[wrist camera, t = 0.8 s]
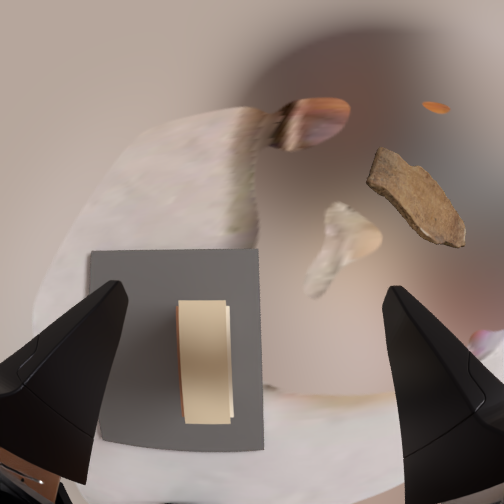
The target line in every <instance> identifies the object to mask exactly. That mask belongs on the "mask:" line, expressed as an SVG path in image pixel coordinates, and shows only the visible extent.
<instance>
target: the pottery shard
mask: <svg viewBox="0 0 504 504" xmlns="http://www.w3.org/2000/svg"><path fill="white" fill-rule="evenodd" d="M366 184H367V185H368V186H369V187H370V188H371V189H373V190H374V191H375V192H377V193H378V194H379V195H381V196H385V198H386V199H387V200H389V202H390V203H391V204H392V205H393V206H394V207H395V208H396V209H397V211H399V213H400V214H401V215H402V217H404V218H405V219H406V221H407V222H408V224H409V225H410V226H411V227H412V229H414V230H415V231H416V232H417V234H419V236H420V237H422V238H423V239H425V240H428V241H429V242H432V243H435V244H444V245H447V246H450V247H454V248H460V247H464V246H465V234H466V230H465V226H464V222H463V221H462V219H461V218H460V217H459V215H458V213H457V211H455V209H454V208H453V206H452V204H451V202H450V200H449V199H447V197H446V195H445V193H444V191H443V190H442V189H441V187H440V186H439V185H438V184H437V182H436V181H435V180H433V179H432V177H431V176H430V174H429V173H428V172H426V171H425V170H424V169H423V168H422V167H420V166H414V167H413V166H409V165H408V164H407V163H406V162H405V161H404V160H403V159H402V158H401V157H400V156H399V154H396V153H394V152H392V151H390V150H388V149H386V148H382V147H379V148H378V150H377V152H376V154H375V158H374V161H373V163H372V166H371V170H370V174H369V176H368V178H367V181H366Z"/></svg>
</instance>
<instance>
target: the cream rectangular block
mask: <svg viewBox="0 0 504 504" xmlns="http://www.w3.org/2000/svg"><path fill="white" fill-rule="evenodd" d="M178 303H179V306H176V333H177V357H178V374H179V388H180V400H181V411H182V417H185V424H231V421H230V417H234V410H233V389H232V366H231V338H230V306H226V300H178Z"/></svg>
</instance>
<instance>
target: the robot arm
mask: <svg viewBox="0 0 504 504" xmlns="http://www.w3.org/2000/svg"><path fill="white" fill-rule="evenodd" d="M128 303H129V299H128V295H127V293H126V291H125V288H124V286H123V284H122V282H121V281H120V280H109V281H108V282H106V283H105V284H103V285H102V286H101V287H99V288H98V289H97V290H95V291H94V292H93V293H91V294H90V295H88V296H87V297H86V298H84V299H83V300H82V301H80V302H79V303H78V304H76V305H75V306H74V307H72V308H71V309H70V310H69V311H67V312H66V313H65V314H63V315H62V316H61V317H60V318H58V319H57V320H56V321H54V322H53V323H52V324H51V325H49V326H48V327H47V328H46V329H44V330H43V331H42V332H41V333H40V334H38V335H37V336H36V337H34V338H33V339H32V340H31V341H30V342H28V343H27V344H26V345H25V346H24V347H22V348H21V349H19V350H18V351H17V352H15V353H14V354H13V355H11V356H10V357H8V358H7V359H6V360H4V361H3V362H2V363H0V504H72V502H71V500H70V498H69V496H68V494H67V492H66V490H65V488H64V486H63V484H62V483H61V482H60V479H61V477H63V478H66V479H69V480H71V481H74V482H77V483H80V484H83V485H86V481H87V474H88V468H89V462H90V456H91V451H92V446H93V441H94V439H93V438H94V435H95V430H96V426H97V421H98V417H99V413H100V409H101V405H102V401H103V397H104V393H105V389H106V386H107V382H108V378H109V375H110V371H111V368H112V365H113V361H114V358H115V355H116V351H117V348H118V345H119V342H120V338H121V334H122V329H123V325H124V320H125V316H126V312H127V308H128ZM382 312H383V318H384V326H385V334H386V344H387V351H388V356H389V361H390V366H391V371H392V377H393V382H394V387H395V394H396V400H397V407H398V414H399V421H400V429H401V438H402V448H403V458H404V459H403V462H404V480H405V504H438V503H441V504H504V384H503V383H502V382H501V381H500V380H499V379H497V378H496V377H495V376H494V375H493V374H492V373H491V372H490V371H489V370H488V369H487V368H486V367H485V366H484V365H483V364H482V363H481V362H480V361H479V360H478V359H477V358H476V357H475V356H474V355H473V354H472V353H471V352H470V351H469V350H468V349H467V348H466V347H465V346H464V345H463V343H462V342H461V341H459V340H458V338H456V336H455V335H454V334H453V333H452V332H450V331H449V330H448V328H446V327H445V326H444V325H443V324H442V323H441V322H440V321H439V320H438V319H437V318H436V317H435V316H434V315H433V314H432V313H431V312H430V311H429V310H428V309H427V308H425V307H424V306H423V305H422V304H421V303H420V302H419V301H418V300H417V299H416V298H415V297H414V296H412V295H411V294H410V293H409V292H408V291H407V290H406V289H405V288H403V287H402V286H390V287H389V289H388V291H387V294H386V296H385V299H384V302H383V305H382ZM165 504H169V503H165Z"/></svg>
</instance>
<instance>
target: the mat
mask: <svg viewBox="0 0 504 504" xmlns="http://www.w3.org/2000/svg"><path fill="white" fill-rule="evenodd" d="M258 258H259V257H258V249H192V250H118V251H91V265H90V286H89V295H90V294H91V293H93V292H94V291H95V290H97V289H98V288H99V287H101V286H102V285H103V284H105V283H106V282H108V281H109V280H120V281H121V282H122V284H123V286H124V288H125V291H126V293H127V295H128V299H129V303H128V308H127V312H126V316H125V320H124V325H123V329H122V334H121V338H120V342H119V345H118V348H117V351H116V355H115V358H114V361H113V365H112V368H111V371H110V375H109V378H108V382H107V386H106V389H105V393H104V397H103V401H102V405H101V409H100V413H99V423H100V428H101V433H102V438H103V440H105V441H109V442H115V443H120V444H126V445H132V446H139V447H146V448H155V449H165V450H177V451H195V452H238V451H257V450H264V423H263V384H262V350H261V319H260V318H261V317H260V289H259V288H260V286H259V259H258ZM178 300H226V306H230V338H231V366H232V389H233V410H234V417H230V421H231V424H185V417H182V411H181V400H180V388H179V374H178V357H177V333H176V306H179V303H178Z"/></svg>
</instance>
